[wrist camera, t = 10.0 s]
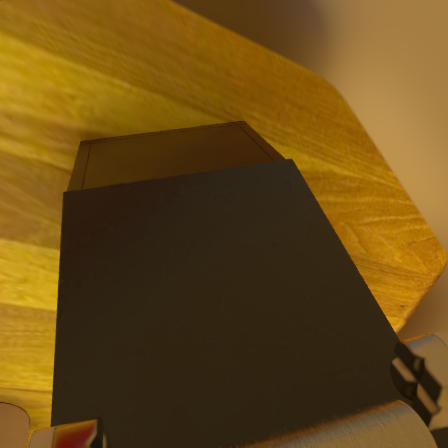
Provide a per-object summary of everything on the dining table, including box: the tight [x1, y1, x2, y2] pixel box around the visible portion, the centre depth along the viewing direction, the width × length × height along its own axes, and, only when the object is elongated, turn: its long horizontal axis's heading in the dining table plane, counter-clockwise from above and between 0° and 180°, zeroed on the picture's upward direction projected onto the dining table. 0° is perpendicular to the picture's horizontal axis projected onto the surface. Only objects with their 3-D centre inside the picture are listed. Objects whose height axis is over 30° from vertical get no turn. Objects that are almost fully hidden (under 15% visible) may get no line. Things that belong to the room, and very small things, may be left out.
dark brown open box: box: [67, 121, 285, 191], centre depth 30 cm, size 17×13×9 cm
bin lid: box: [51, 159, 448, 448], centre depth 14 cm, size 17×13×5 cm
